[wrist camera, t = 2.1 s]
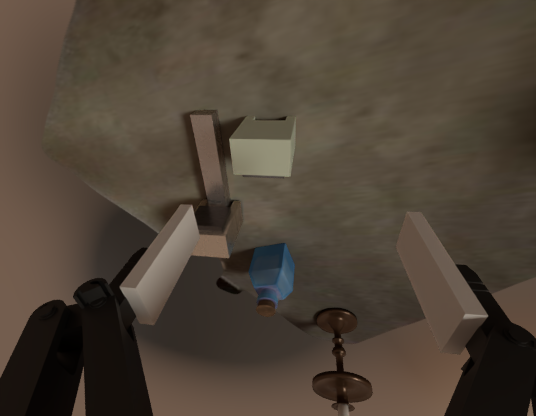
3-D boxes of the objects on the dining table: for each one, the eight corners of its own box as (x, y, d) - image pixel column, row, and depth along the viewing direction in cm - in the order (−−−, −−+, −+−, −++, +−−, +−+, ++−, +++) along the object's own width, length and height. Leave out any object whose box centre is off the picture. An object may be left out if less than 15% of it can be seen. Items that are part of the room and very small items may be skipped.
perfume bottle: (285, 242, 48) (277, 297, 38) (294, 265, 51) (290, 320, 41) (255, 247, 50) (240, 300, 40) (266, 269, 53) (255, 323, 43)
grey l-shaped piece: (184, 110, 36) (149, 132, 29) (230, 110, 35) (207, 132, 28) (210, 229, 49) (190, 267, 41) (244, 231, 48) (231, 270, 40)
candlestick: (305, 324, 62) (298, 569, 34) (324, 299, 56) (333, 577, 28) (347, 336, 63) (374, 589, 35) (370, 314, 56) (425, 601, 28)
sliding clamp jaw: (246, 116, 35) (229, 138, 28) (295, 116, 34) (290, 139, 27) (249, 151, 38) (234, 180, 31) (294, 152, 37) (290, 182, 30)
